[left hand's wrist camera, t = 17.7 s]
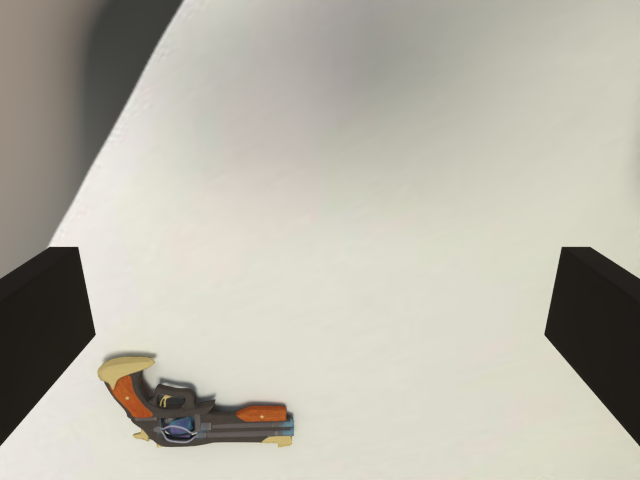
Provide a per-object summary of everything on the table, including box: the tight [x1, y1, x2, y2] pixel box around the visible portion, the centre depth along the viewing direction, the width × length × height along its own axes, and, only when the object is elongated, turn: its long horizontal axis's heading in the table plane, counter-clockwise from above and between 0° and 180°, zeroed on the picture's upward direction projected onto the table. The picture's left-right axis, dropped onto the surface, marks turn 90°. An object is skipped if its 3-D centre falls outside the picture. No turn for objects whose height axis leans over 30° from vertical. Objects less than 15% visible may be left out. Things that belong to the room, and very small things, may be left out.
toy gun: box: [98, 357, 294, 447], centre depth 45 cm, size 3×19×10 cm
